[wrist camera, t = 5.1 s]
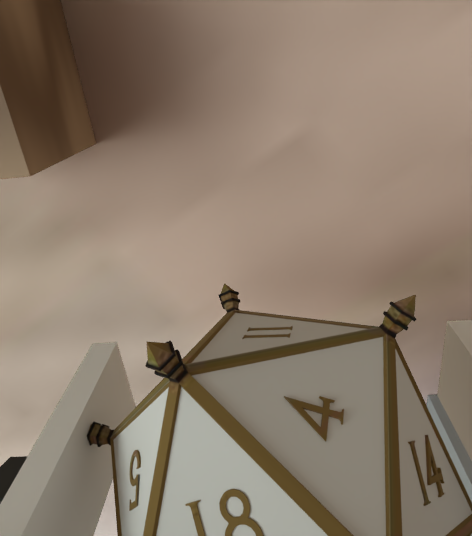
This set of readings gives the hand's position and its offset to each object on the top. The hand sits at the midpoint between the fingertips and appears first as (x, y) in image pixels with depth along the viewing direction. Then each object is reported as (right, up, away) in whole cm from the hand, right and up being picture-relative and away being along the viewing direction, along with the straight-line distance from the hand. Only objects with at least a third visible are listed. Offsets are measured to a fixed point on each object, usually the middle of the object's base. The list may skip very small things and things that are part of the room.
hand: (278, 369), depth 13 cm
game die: (0, 0, +1) cm, 1 cm away
